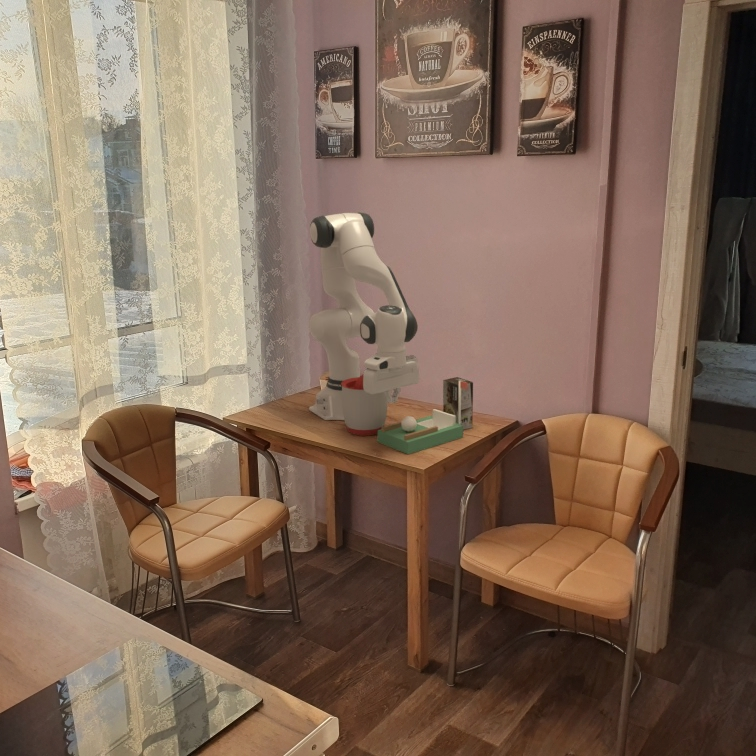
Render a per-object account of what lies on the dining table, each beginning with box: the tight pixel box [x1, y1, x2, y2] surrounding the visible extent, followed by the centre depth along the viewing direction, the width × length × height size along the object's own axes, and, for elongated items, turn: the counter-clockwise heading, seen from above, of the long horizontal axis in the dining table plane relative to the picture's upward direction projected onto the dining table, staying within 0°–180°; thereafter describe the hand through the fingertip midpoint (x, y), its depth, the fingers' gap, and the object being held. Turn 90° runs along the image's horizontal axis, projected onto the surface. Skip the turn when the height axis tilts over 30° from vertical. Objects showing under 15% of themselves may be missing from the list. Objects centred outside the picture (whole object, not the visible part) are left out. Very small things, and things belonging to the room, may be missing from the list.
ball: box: [400, 415, 417, 432], centre depth 249 cm, size 5×5×5 cm
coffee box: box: [442, 377, 474, 431], centre depth 265 cm, size 9×6×16 cm
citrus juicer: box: [341, 373, 392, 437], centre depth 261 cm, size 16×17×20 cm
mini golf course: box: [377, 381, 467, 455], centre depth 251 cm, size 17×24×19 cm
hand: (392, 402), depth 242 cm, fingers closed
